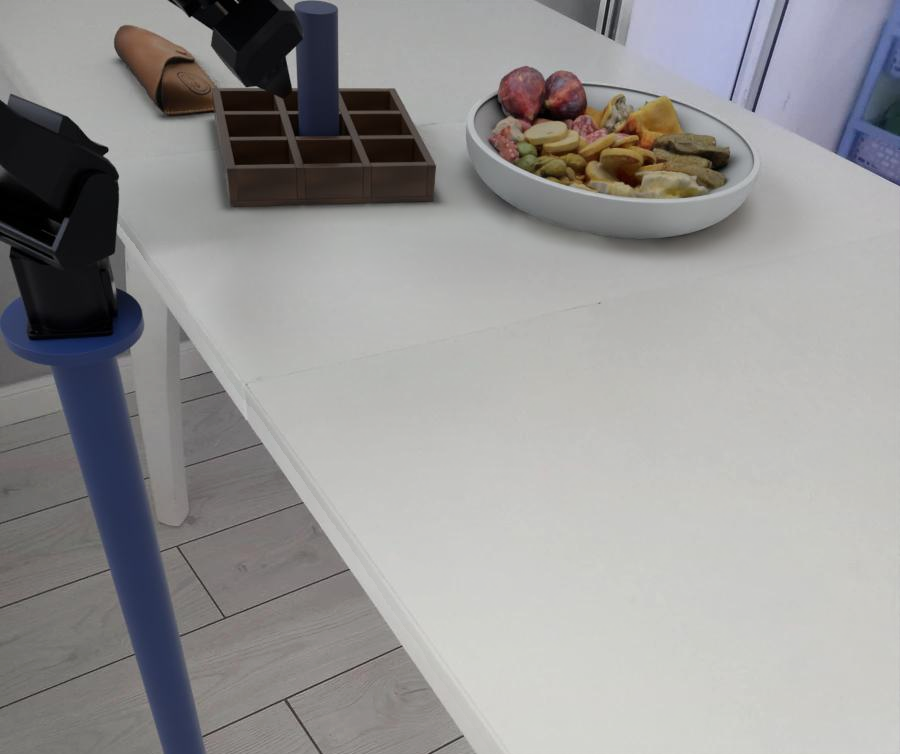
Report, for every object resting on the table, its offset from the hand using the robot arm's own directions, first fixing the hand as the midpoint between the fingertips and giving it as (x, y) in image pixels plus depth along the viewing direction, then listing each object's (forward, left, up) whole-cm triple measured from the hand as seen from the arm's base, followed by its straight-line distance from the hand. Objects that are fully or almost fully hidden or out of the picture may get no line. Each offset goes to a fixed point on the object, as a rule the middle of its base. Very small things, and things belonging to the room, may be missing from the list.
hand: (258, 63), depth 78 cm
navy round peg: (+6, +7, -11) cm, 14 cm away
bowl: (+35, 0, -11) cm, 37 cm away
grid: (+6, +7, -11) cm, 15 cm away
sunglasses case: (-8, +28, -12) cm, 32 cm away
